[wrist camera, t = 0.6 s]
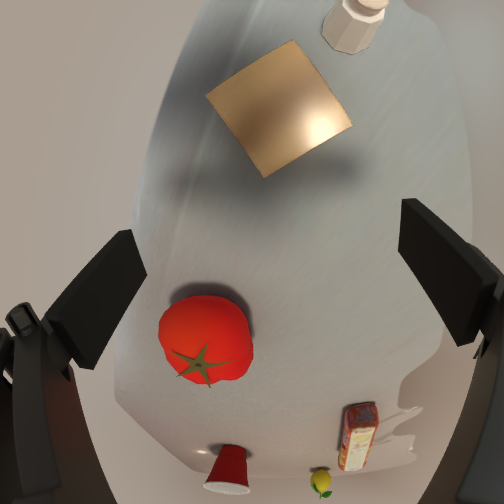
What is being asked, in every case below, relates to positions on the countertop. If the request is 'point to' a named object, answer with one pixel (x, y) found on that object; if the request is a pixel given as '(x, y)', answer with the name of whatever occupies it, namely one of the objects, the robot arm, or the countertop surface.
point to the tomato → (206, 339)
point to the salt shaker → (353, 24)
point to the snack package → (357, 436)
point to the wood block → (279, 108)
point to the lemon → (321, 482)
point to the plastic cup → (229, 472)
